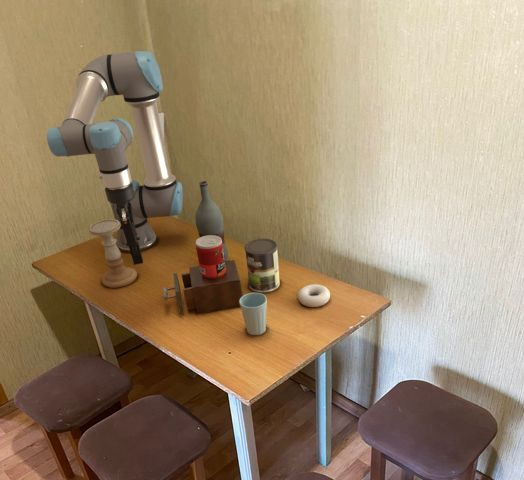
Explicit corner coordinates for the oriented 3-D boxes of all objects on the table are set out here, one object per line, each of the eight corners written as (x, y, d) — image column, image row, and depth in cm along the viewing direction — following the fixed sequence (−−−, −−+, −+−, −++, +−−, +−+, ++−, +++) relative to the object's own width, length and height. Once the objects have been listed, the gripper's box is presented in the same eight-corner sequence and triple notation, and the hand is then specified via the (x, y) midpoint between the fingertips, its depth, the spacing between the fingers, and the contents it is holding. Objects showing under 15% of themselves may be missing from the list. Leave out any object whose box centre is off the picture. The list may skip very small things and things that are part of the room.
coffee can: (265, 296, 168) (261, 256, 159) (242, 286, 173) (237, 248, 165) (286, 282, 173) (284, 243, 164) (263, 273, 179) (259, 235, 170)
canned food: (223, 279, 159) (218, 247, 152) (197, 279, 161) (191, 246, 154) (229, 267, 165) (224, 234, 158) (204, 266, 166) (199, 234, 160)
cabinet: (197, 313, 163) (191, 287, 157) (193, 293, 173) (188, 267, 167) (243, 305, 164) (240, 279, 159) (237, 285, 174) (234, 259, 168)
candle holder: (106, 292, 178) (88, 237, 166) (99, 276, 187) (82, 223, 175) (141, 281, 182) (127, 227, 169) (132, 266, 191) (118, 214, 178)
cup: (261, 340, 150) (257, 309, 143) (238, 333, 153) (234, 303, 147) (274, 326, 155) (271, 295, 148) (251, 320, 158) (248, 290, 152)
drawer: (166, 315, 162) (161, 294, 157) (165, 296, 171) (160, 275, 166) (223, 305, 164) (219, 284, 159) (218, 287, 173) (215, 266, 168)
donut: (336, 298, 163) (312, 287, 169) (337, 289, 161) (312, 278, 167) (315, 313, 158) (291, 301, 164) (315, 303, 156) (290, 292, 162)
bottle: (213, 275, 181) (199, 190, 162) (198, 266, 187) (183, 183, 168) (234, 264, 185) (223, 181, 167) (219, 256, 191) (207, 174, 173)
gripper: (105, 178, 146) (126, 255, 161) (102, 196, 136) (125, 275, 151) (132, 174, 147) (150, 251, 161) (131, 191, 137) (151, 271, 151)
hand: (138, 262), depth 156 cm, fingers closed
